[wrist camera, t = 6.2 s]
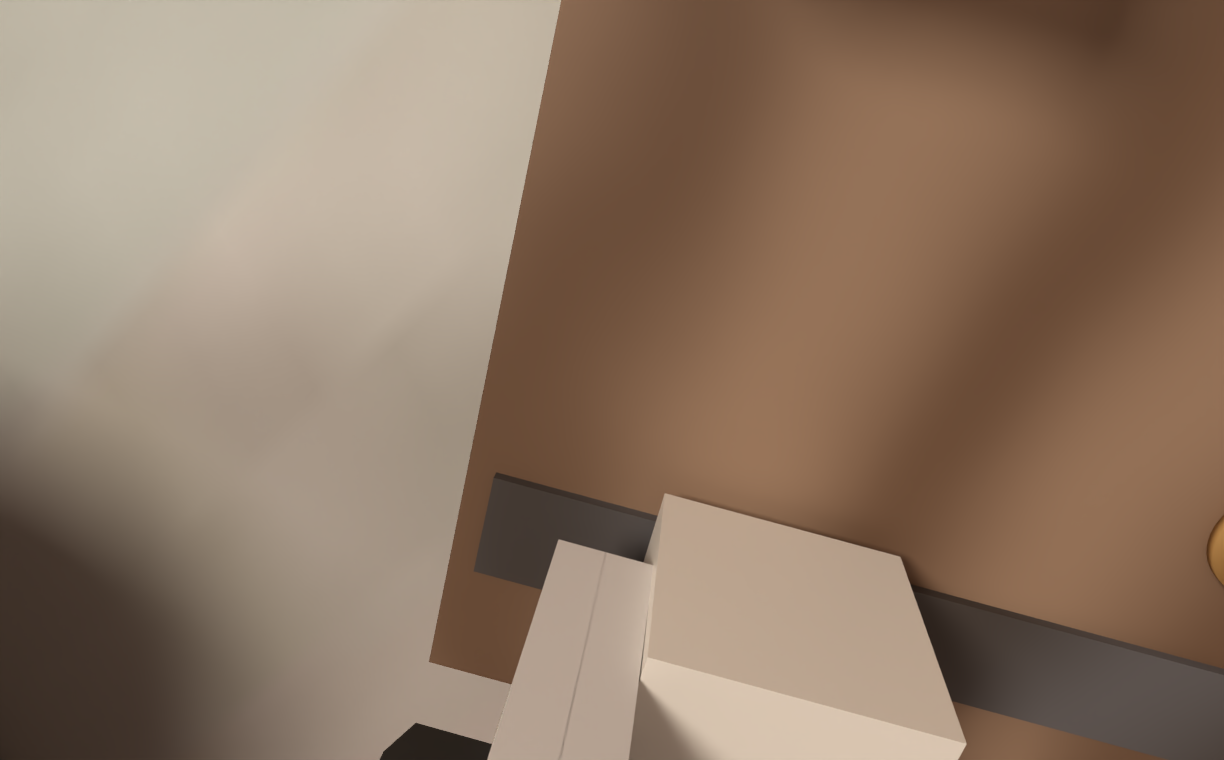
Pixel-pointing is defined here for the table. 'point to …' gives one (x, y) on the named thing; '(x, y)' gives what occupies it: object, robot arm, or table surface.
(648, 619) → the tab
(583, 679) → the robot arm
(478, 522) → the switch panel
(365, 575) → the table surface
